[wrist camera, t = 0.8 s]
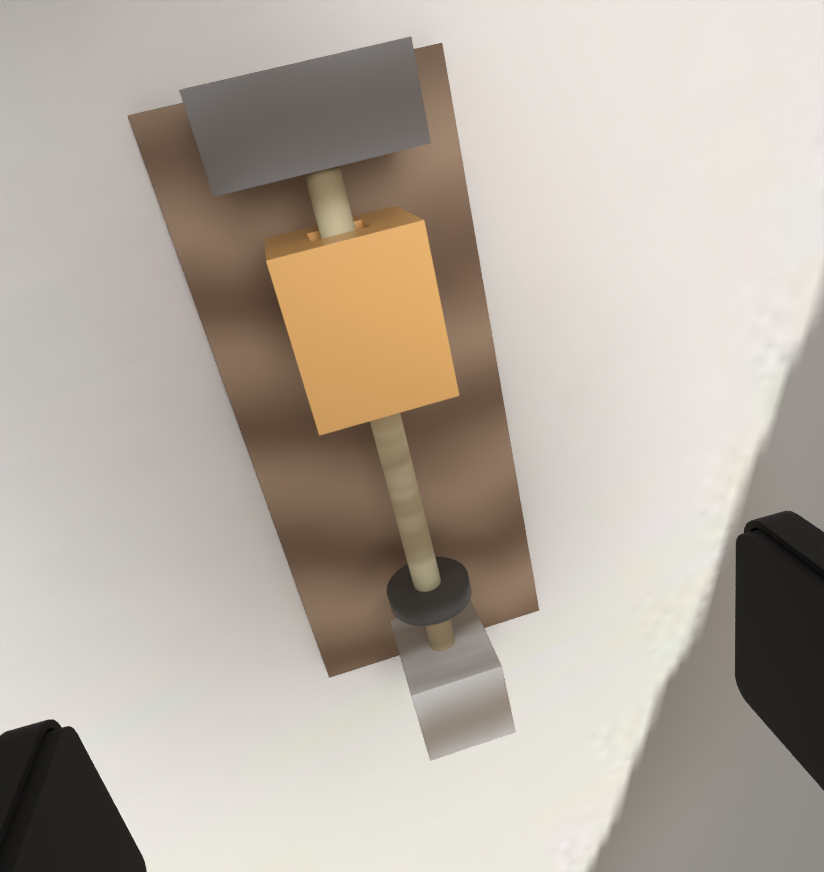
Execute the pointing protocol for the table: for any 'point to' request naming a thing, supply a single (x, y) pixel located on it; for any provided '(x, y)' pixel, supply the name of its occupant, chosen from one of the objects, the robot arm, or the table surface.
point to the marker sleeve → (364, 318)
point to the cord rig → (378, 439)
